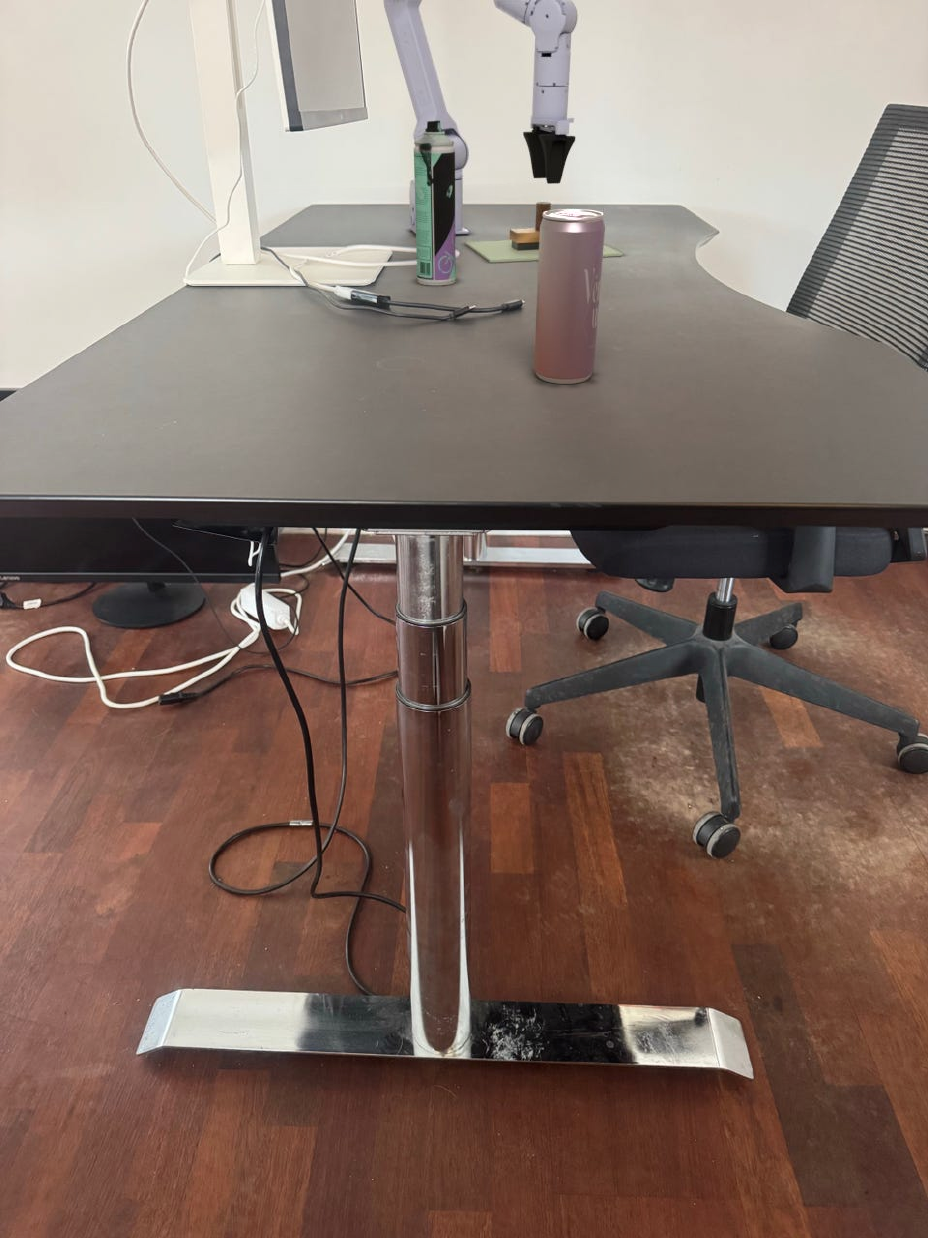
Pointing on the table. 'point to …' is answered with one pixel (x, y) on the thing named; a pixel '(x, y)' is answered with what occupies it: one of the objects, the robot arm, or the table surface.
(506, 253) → the mat
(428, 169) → the spray can
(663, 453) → the table surface
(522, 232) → the brush
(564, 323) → the beverage can
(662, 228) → the table surface
